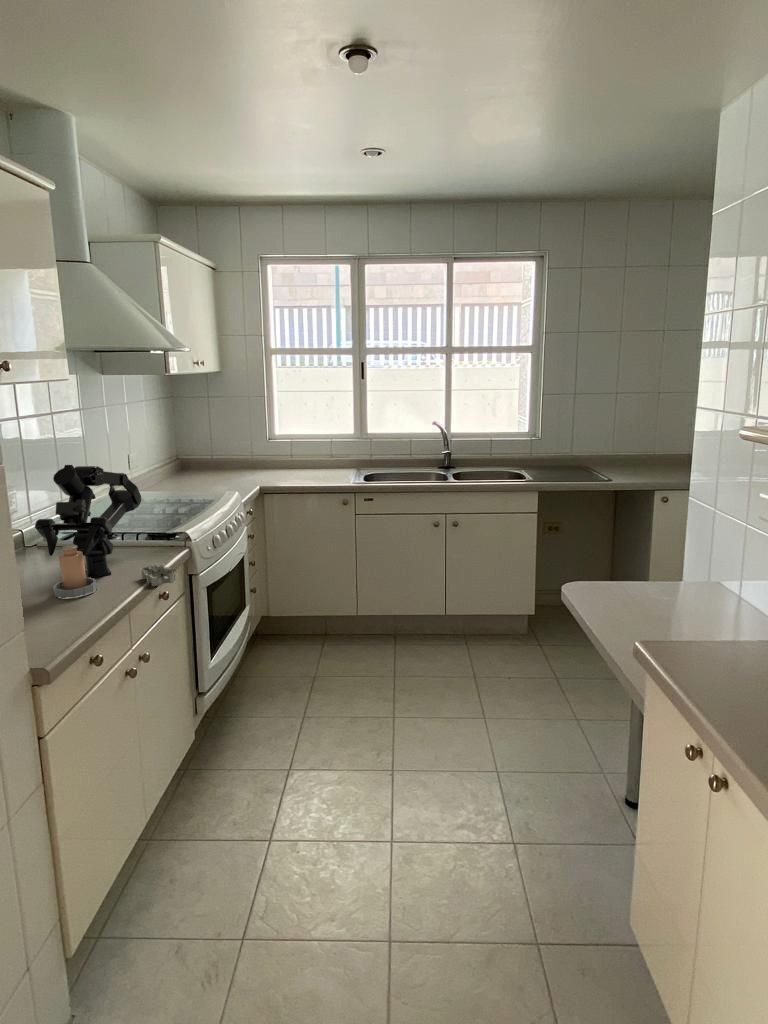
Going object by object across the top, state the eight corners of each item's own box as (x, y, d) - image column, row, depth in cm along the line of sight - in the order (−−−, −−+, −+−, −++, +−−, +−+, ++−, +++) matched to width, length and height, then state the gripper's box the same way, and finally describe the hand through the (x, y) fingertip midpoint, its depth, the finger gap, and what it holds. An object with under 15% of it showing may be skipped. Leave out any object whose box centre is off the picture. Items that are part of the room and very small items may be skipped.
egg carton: (178, 582, 190) (177, 569, 189) (152, 588, 185) (150, 574, 184) (165, 573, 198) (163, 559, 197) (139, 578, 194) (138, 565, 193)
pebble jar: (65, 587, 185) (59, 544, 182) (89, 584, 187) (83, 542, 184) (61, 594, 179) (55, 551, 176) (86, 591, 181) (79, 548, 178)
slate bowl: (52, 590, 185) (51, 582, 184) (92, 583, 190) (91, 574, 189) (57, 602, 176) (56, 593, 176) (100, 593, 182) (98, 585, 181)
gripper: (32, 490, 180) (18, 541, 172) (103, 487, 181) (93, 538, 172) (49, 511, 189) (37, 561, 181) (116, 509, 190) (107, 558, 182)
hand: (68, 554), depth 179 cm, fingers open, 9 cm apart
